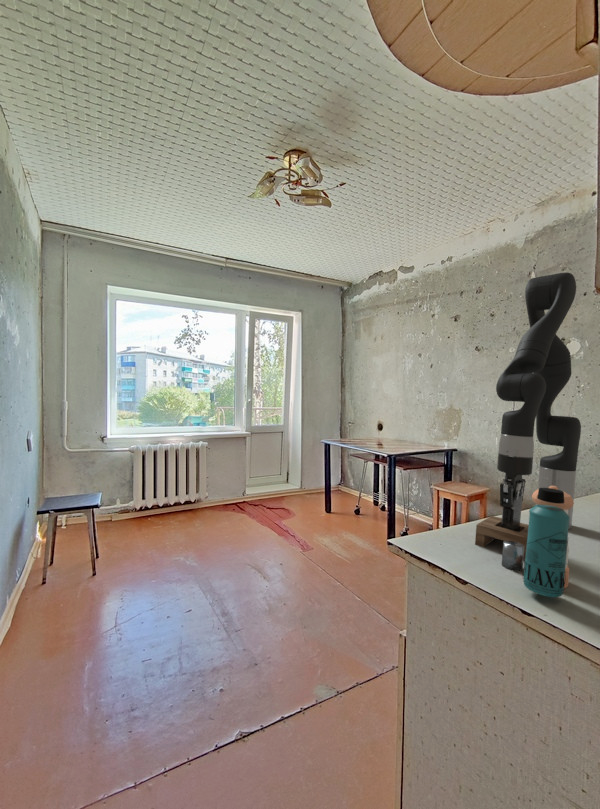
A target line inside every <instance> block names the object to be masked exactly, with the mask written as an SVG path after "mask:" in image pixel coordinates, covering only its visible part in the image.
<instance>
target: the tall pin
mask: <svg viewBox="0 0 600 809" xmlns="http://www.w3.org/2000/svg"><path fill="white" fill-rule="evenodd" d="M513 496H514V495H513ZM522 497H523V498H524V495H523V496H521V495H519V497H518V500H517V501H515V509H514V517H513V524H512V525H509V524H505V523H503V522H501V528H505V529H509V530H513V531H517V532H519V529H520V523H521V516H522V506H523V501H522ZM506 502H508V503H509V500H508V499H507V500H506ZM501 513H502V514H501V518H502V519H503V510H502V512H501Z"/></svg>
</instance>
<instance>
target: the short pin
mask: <svg viewBox="0 0 600 809" xmlns="http://www.w3.org/2000/svg"><path fill="white" fill-rule="evenodd" d="M501 554H502V555H501V557H502V558H501V566H502V567H503V568H505V569H506V570H510V571H512V570H513V572H522V571H524V560H525V559H524V545H522V544H520V543H518V542H514V541H504V540H503V542H502V553H501Z"/></svg>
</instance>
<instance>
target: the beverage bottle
mask: <svg viewBox="0 0 600 809" xmlns="http://www.w3.org/2000/svg"><path fill="white" fill-rule="evenodd" d="M537 499H539V500H542V501H546V502H551V503H559V504H562V503H564V492H563V491H560V490H557V489H552V488H539V491H538V495H537ZM569 520H570V517H569V515H568V514H567V513H566V512H565V511H564V510H563V509H561V508H558V507H554V506H549V505H536V504H535V505H534V506H532V507H531V508H530V509H529V517H528V525H529V526H528V538H527V546H526V554H525V557H524V558H525V559H523V573H522V579H523V580H522V581H523V585H524V587H526V589H528V590H529V591H531V592H533V593H535V594H538V595H540V596H544V597H548V598H560V597H562V596H563V594H564V591H565V589H566V588H565V586H564V584H565V582H564V577H565V578H566V575H565V572H566V571H565V566H566V564H567V565H568V563H566V554H567V546H569V541H570V539H569V537H568V536H569V529H568V528H569ZM567 543H568V545H567Z"/></svg>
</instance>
